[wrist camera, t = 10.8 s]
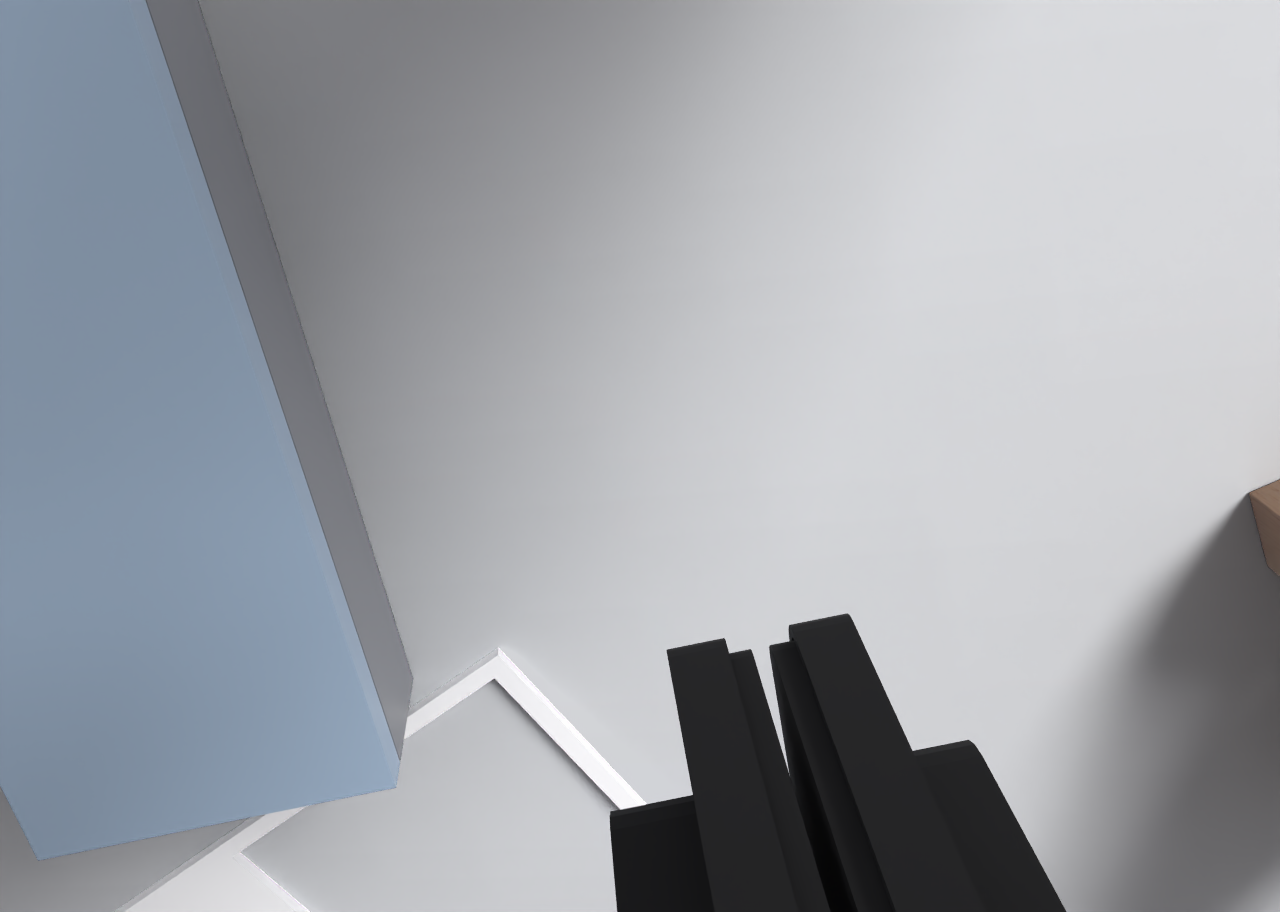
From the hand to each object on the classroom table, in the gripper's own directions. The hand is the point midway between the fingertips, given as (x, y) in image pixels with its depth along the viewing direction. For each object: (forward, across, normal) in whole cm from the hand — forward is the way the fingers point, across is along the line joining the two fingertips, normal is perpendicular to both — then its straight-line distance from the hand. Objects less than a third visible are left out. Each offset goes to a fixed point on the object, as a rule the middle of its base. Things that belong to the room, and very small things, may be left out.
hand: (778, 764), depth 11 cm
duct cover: (+23, +16, +2) cm, 28 cm away
